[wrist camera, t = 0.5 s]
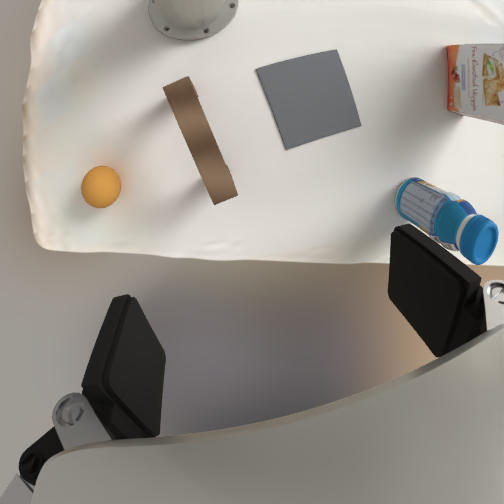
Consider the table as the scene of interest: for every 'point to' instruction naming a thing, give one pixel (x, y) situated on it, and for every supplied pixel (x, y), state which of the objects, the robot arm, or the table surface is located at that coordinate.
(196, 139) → the bridge
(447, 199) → the beverage bottle
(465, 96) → the cracker box
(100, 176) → the ball
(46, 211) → the table surface
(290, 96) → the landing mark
